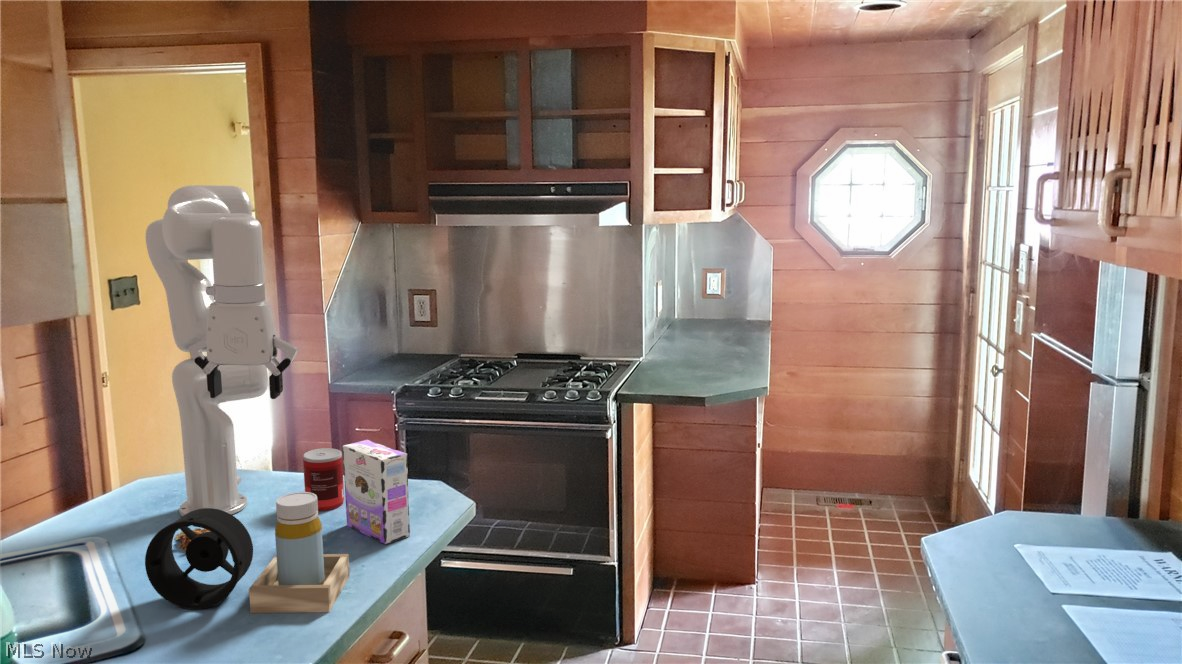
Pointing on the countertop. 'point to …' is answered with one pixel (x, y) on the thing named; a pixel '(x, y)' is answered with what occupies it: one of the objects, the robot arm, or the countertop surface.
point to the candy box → (376, 490)
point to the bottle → (299, 540)
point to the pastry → (185, 538)
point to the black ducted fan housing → (199, 558)
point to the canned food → (324, 477)
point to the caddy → (299, 589)
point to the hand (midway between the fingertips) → (246, 396)
